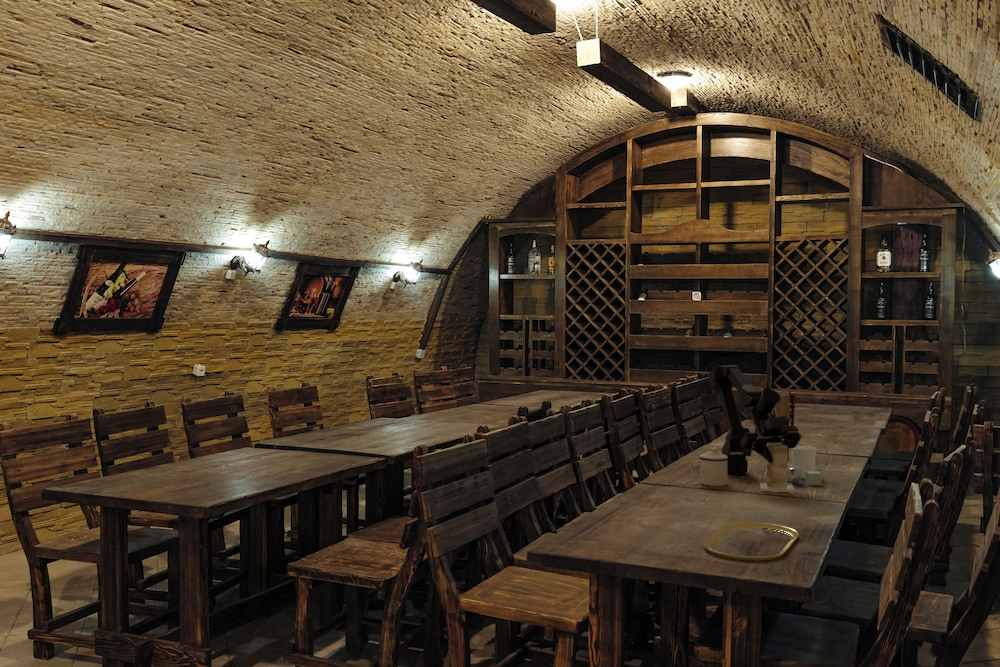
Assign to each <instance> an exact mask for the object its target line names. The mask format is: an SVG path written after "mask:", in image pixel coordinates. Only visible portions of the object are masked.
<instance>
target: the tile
mask: <svg viewBox="0 0 1000 667" xmlns="http://www.w3.org/2000/svg"><path fill="white" fill-rule="evenodd" d="M759 488H761V489H760V492H761V491H771V492H770V493H777V492H789V493H788V494H795V493H796V490H795V488H794V485H792V484H787V488H772V487H770V486H767V482H760V483H759Z"/></svg>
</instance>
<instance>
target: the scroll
mask: <svg viewBox="0 0 1000 667" xmlns="http://www.w3.org/2000/svg"><path fill="white" fill-rule="evenodd" d="M773 390H774V391H775V392H776V390H775V389H773ZM777 393H778V392H777ZM778 394H779V395H780V401H779V403H778V404H777V406H776V408H775V410H774V411H773V412H772V413H769V414H770V416H771V417H781V416H787V418H788V419H789V425H788V426H786V427H785V428H782V429H781V433H785V434H786V433H787V432H799V428H798V427H797V426H795V421H794V420H795V415H794V414H795V408H796V406H795V398H796V394H792V392H791V390H790V389H789V390H788V392H787V393H785V392H783V393H782V392H780V393H778ZM790 409H791V410H790Z"/></svg>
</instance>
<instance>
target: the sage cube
mask: <svg viewBox="0 0 1000 667" xmlns="http://www.w3.org/2000/svg"><path fill="white" fill-rule="evenodd" d="M822 476H823V475H822V473H821V472H819V471H817V470H816V471H805V478H804V484H805V483H807V484H809V485H821V486H822ZM807 484H806V485H807ZM809 485H808V486H809Z"/></svg>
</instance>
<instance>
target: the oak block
mask: <svg viewBox="0 0 1000 667" xmlns="http://www.w3.org/2000/svg"><path fill="white" fill-rule="evenodd" d="M767 448H768V450H769V452H770V455H771V457H772V461H773V462H772V463H770V462H768V461H767V460H766V462H767V463H766V464H767V465H766V483H767V486H770V487H772V488H787V467H788V463H789V461H788V446H784V445H781V444H778V443H774V444H767Z"/></svg>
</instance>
